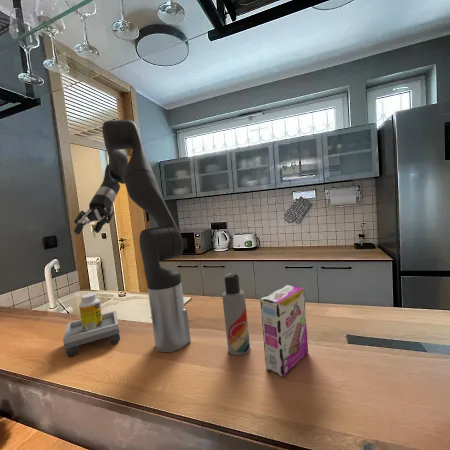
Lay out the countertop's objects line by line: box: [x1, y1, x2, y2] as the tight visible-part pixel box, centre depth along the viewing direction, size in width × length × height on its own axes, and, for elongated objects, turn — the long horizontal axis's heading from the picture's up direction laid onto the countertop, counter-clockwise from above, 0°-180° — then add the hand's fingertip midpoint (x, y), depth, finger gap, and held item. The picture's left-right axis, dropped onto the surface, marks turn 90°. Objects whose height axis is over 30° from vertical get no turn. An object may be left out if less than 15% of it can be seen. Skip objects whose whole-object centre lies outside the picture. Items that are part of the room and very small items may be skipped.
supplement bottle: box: [78, 292, 103, 331], centre depth 79 cm, size 6×6×10 cm
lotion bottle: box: [221, 272, 251, 356], centre depth 66 cm, size 6×6×20 cm
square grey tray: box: [62, 310, 121, 358], centre depth 79 cm, size 14×12×6 cm
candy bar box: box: [259, 284, 309, 378], centre depth 59 cm, size 11×5×16 cm, turn 135°
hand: (86, 232), depth 94 cm, fingers open, 8 cm apart
